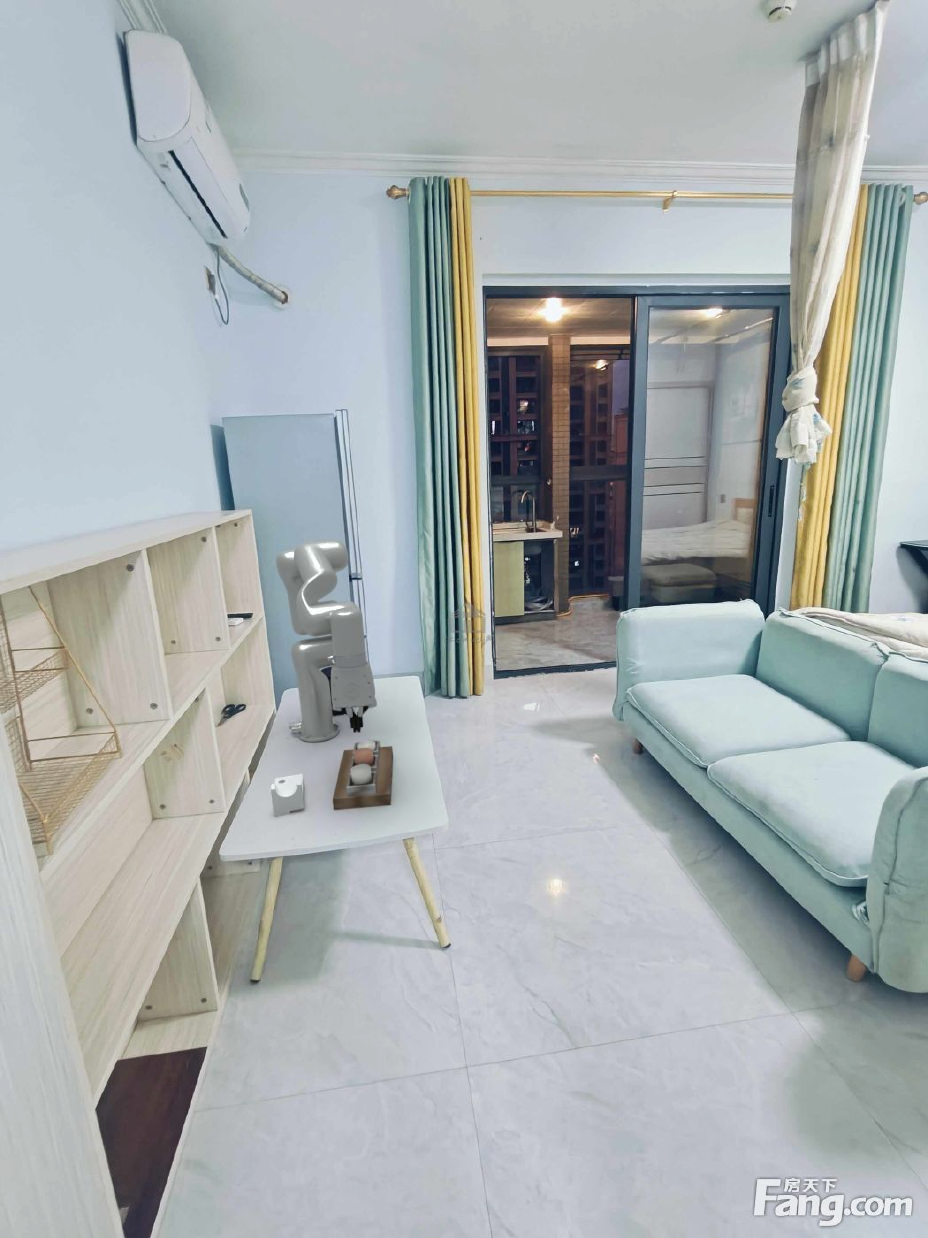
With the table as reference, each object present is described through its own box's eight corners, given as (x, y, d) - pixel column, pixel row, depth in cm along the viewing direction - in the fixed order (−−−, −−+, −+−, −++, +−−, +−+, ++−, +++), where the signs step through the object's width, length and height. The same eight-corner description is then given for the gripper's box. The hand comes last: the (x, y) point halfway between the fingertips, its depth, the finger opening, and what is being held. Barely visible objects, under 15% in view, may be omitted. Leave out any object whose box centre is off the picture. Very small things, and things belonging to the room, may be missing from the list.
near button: (350, 785, 143) (349, 774, 142) (352, 775, 148) (351, 764, 147) (371, 783, 143) (370, 773, 143) (372, 773, 148) (371, 763, 147)
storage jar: (322, 708, 206) (317, 668, 202) (349, 703, 209) (345, 664, 205) (326, 718, 196) (321, 677, 193) (354, 713, 200) (350, 672, 196)
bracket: (304, 812, 143) (301, 784, 141) (274, 817, 141) (270, 789, 139) (304, 785, 155) (301, 760, 153) (276, 790, 153) (273, 764, 151)
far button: (357, 759, 161) (356, 749, 160) (358, 750, 166) (358, 741, 165) (375, 757, 161) (374, 747, 160) (376, 749, 166) (375, 739, 165)
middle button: (354, 767, 152) (353, 757, 151) (355, 758, 156) (354, 748, 156) (373, 766, 152) (372, 755, 151) (374, 757, 157) (373, 747, 156)
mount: (333, 810, 142) (331, 790, 141) (344, 759, 167) (342, 742, 166) (390, 804, 144) (389, 785, 142) (393, 755, 169) (391, 738, 167)
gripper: (316, 666, 133) (324, 739, 138) (381, 662, 135) (387, 734, 139) (320, 657, 141) (328, 726, 145) (382, 652, 142) (388, 721, 146)
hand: (357, 730), depth 142 cm, fingers closed
